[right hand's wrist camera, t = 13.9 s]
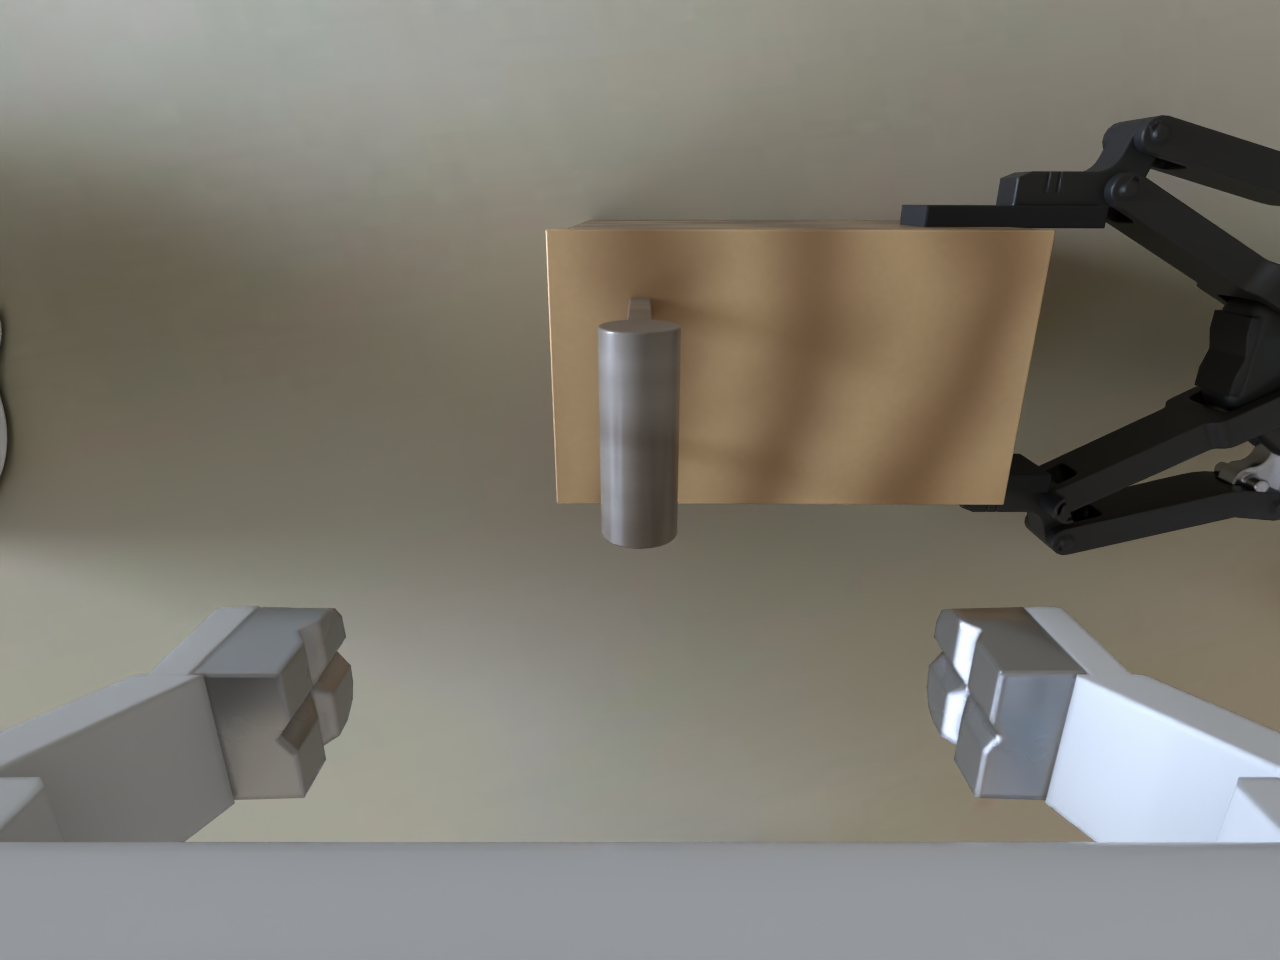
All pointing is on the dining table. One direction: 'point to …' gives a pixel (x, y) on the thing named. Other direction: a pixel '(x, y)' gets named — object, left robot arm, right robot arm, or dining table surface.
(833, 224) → the chest
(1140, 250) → the dining table surface
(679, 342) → the lid
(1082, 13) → the dining table surface
